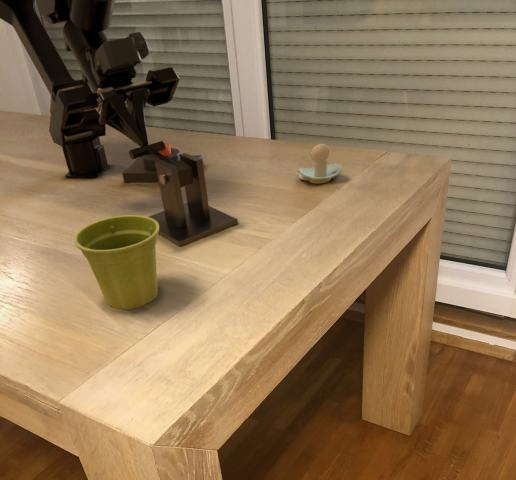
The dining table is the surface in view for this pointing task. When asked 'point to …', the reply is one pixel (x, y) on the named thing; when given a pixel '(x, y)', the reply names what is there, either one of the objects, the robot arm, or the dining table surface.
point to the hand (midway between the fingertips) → (145, 145)
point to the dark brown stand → (187, 205)
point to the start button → (166, 150)
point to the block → (147, 169)
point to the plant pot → (122, 258)
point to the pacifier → (320, 166)
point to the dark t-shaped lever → (154, 154)
